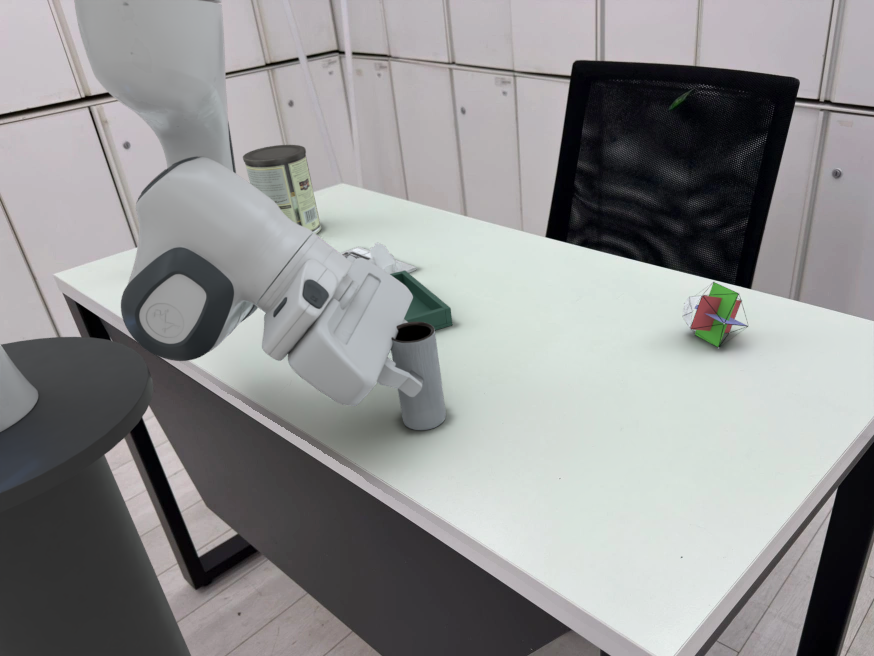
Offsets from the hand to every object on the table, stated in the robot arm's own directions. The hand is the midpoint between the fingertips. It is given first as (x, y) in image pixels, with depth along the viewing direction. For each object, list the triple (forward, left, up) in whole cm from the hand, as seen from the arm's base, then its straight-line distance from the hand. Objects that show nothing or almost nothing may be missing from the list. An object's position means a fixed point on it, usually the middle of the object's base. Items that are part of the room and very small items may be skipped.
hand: (424, 374), depth 75 cm
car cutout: (+9, +45, -6) cm, 47 cm away
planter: (-1, 0, -6) cm, 6 cm away
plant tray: (+3, +26, -5) cm, 27 cm away
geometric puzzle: (+35, -4, -6) cm, 36 cm away
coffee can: (+3, +69, -6) cm, 70 cm away
